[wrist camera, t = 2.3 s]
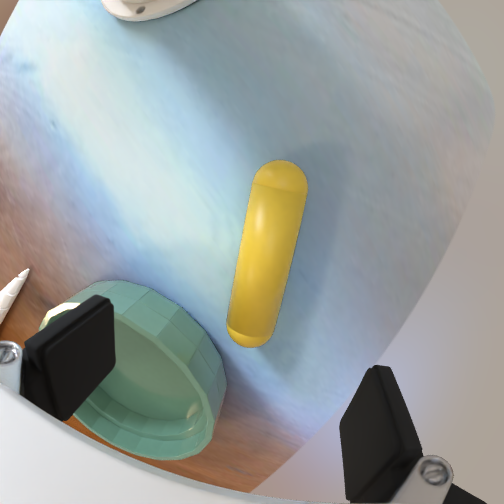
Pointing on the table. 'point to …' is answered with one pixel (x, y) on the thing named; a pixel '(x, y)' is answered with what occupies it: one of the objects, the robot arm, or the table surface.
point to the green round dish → (152, 375)
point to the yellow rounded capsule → (266, 251)
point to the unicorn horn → (11, 293)
